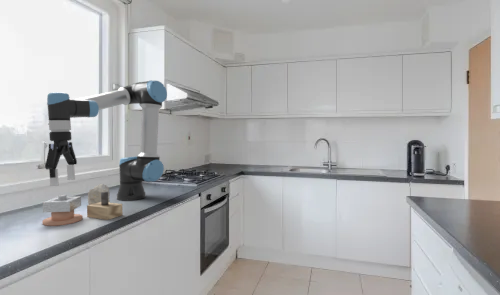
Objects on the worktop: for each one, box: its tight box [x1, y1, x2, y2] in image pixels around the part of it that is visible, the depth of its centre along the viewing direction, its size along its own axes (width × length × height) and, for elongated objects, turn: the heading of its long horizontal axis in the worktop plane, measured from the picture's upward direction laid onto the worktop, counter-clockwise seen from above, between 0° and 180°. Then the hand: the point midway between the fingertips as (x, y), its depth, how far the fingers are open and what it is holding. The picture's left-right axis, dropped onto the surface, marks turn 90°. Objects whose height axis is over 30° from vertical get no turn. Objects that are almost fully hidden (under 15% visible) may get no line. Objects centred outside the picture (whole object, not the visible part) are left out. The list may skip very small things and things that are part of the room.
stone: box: [87, 183, 111, 205], centre depth 143 cm, size 10×5×12 cm, turn 142°
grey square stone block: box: [42, 195, 82, 213], centre depth 122 cm, size 10×10×4 cm
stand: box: [86, 192, 123, 221], centre depth 129 cm, size 8×12×10 cm, turn 67°
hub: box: [42, 194, 84, 227], centre depth 122 cm, size 14×14×10 cm
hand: (63, 182), depth 122 cm, fingers open, 13 cm apart
